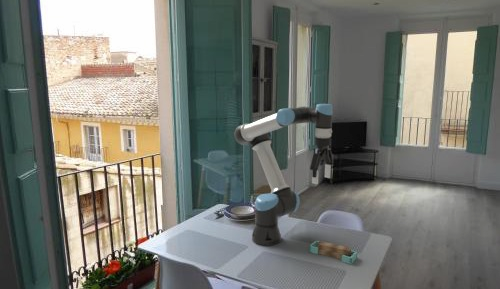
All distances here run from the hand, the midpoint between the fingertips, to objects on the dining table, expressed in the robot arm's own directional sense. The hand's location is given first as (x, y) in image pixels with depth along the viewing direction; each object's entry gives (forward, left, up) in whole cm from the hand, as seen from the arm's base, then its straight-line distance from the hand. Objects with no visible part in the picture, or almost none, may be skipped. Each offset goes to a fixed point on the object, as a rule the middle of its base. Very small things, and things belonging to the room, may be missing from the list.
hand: (321, 180), depth 170 cm
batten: (+9, -4, -34) cm, 36 cm away
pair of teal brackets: (+9, -4, -34) cm, 35 cm away
